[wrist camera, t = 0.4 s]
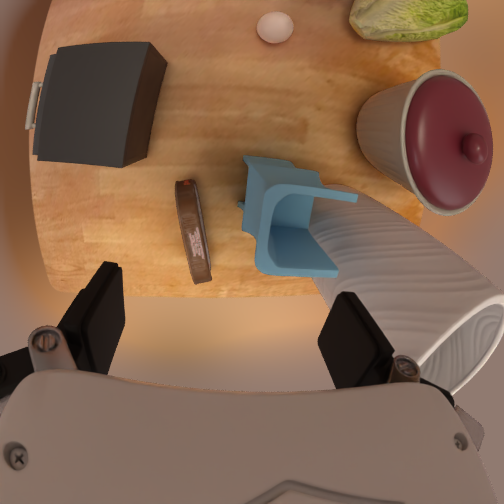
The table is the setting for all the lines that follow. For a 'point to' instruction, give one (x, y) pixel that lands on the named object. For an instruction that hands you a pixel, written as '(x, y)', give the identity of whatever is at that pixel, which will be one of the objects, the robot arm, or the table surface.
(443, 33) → the lettuce
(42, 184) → the table surface
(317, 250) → the vase
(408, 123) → the canister
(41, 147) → the cabinet
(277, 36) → the egg
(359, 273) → the vase
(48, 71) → the drawer
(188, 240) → the tin
